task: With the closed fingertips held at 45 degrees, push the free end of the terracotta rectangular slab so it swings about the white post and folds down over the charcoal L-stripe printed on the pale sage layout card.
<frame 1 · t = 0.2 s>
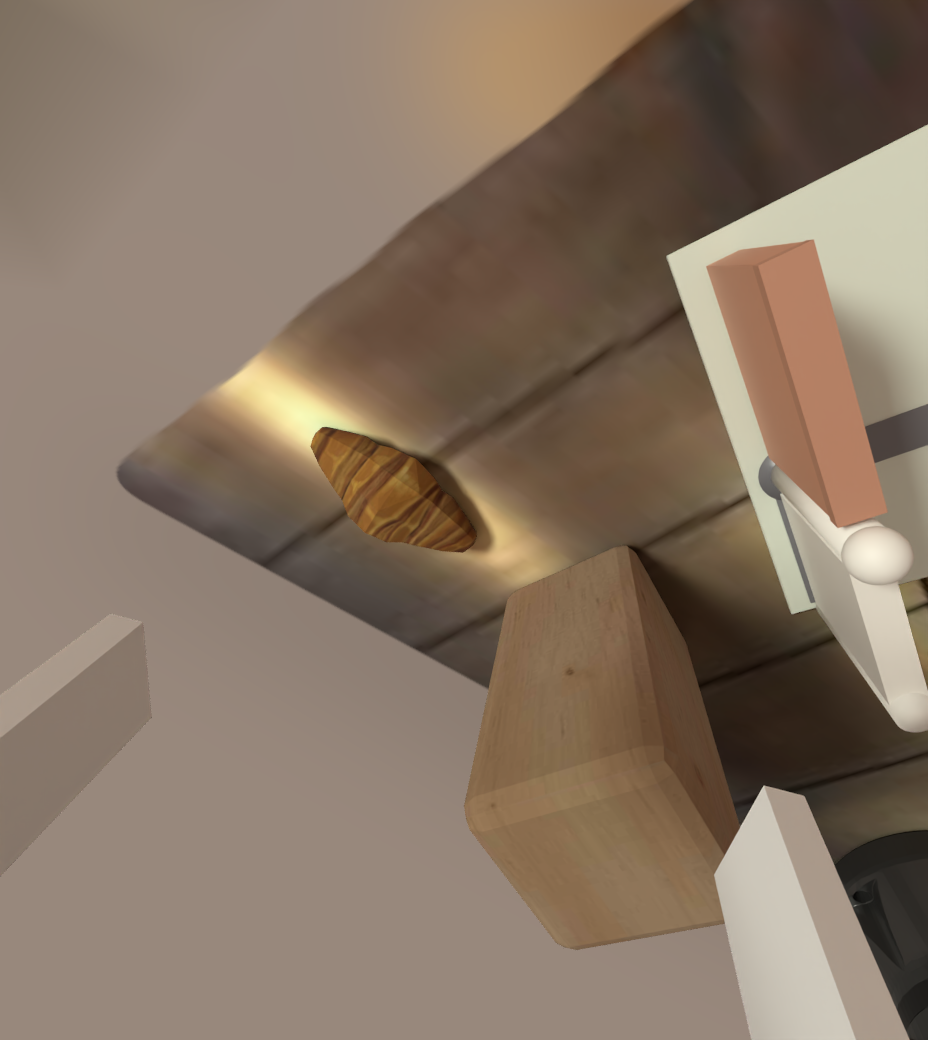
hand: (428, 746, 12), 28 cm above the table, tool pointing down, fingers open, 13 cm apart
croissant: (400, 484, 42), on the table
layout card: (861, 403, 34), on the table
terracotta rectangular slab: (785, 375, 28), point 6 cm above the table, hinge at 0.0°
wooden block: (595, 615, 43), on the table
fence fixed: (790, 473, 35), resting on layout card
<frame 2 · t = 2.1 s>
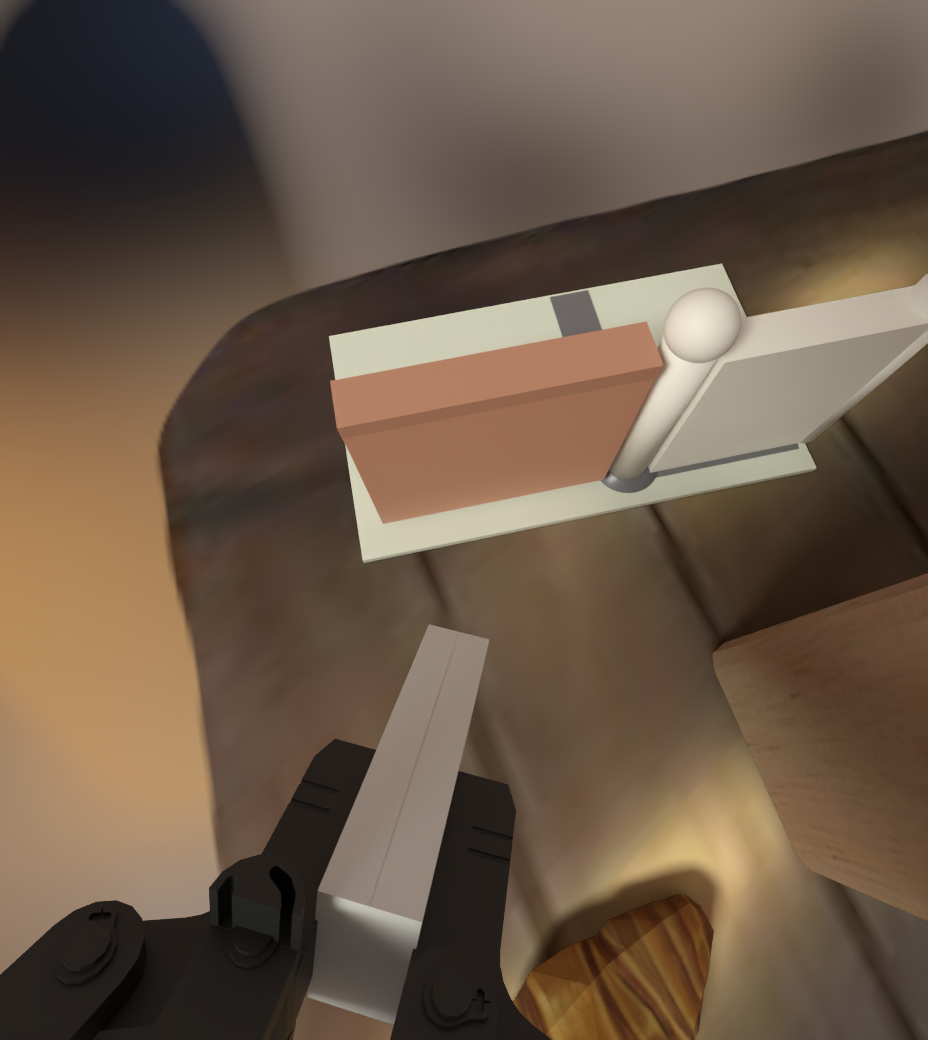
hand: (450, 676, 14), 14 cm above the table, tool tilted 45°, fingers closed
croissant: (581, 1022, 24), on the table
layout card: (558, 402, 33), on the table
terracotta rectangular slab: (493, 440, 26), point 6 cm above the table, hinge at 0.0°
wooden block: (837, 722, 27), on the table
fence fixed: (625, 462, 31), resting on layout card
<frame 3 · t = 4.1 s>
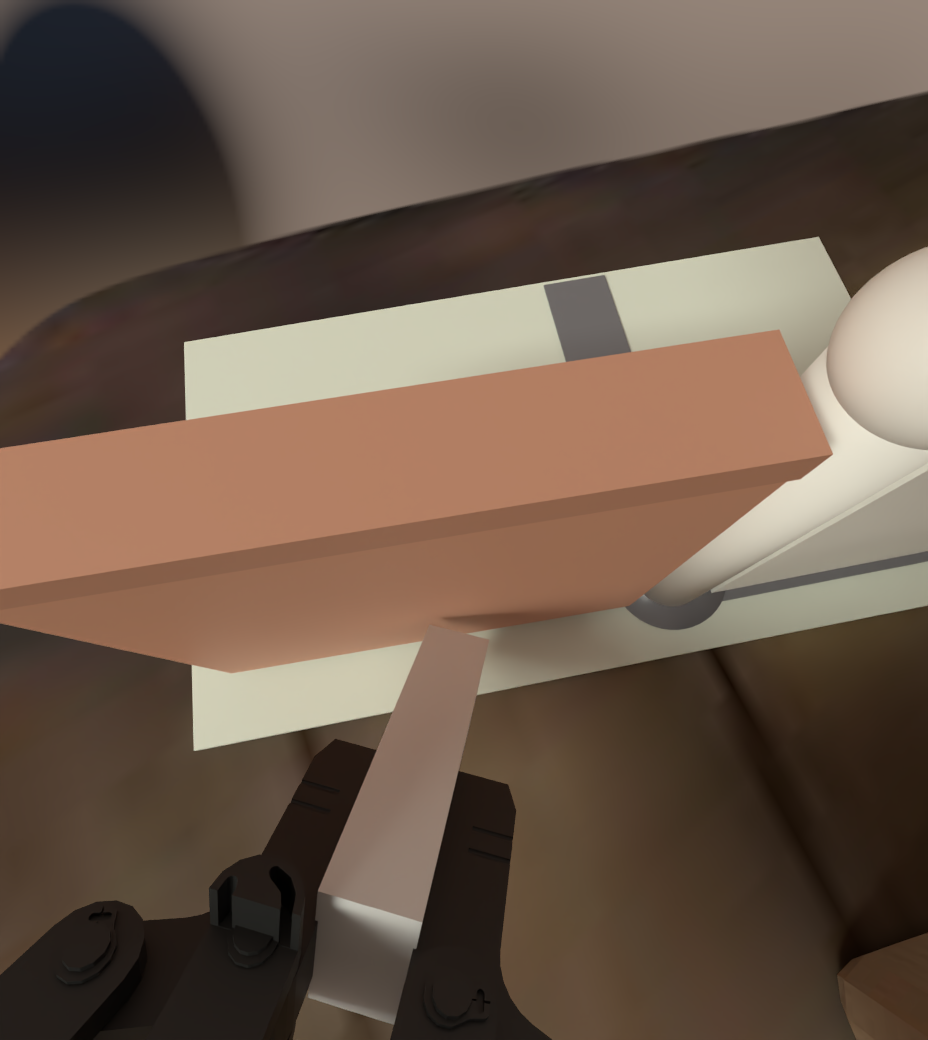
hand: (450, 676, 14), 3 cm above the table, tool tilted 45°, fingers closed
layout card: (552, 459, 20), on the table
terracotta rectangular slab: (410, 563, 12), point 6 cm above the table, hinge at 1.3°, touching gripper
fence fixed: (668, 572, 18), resting on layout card
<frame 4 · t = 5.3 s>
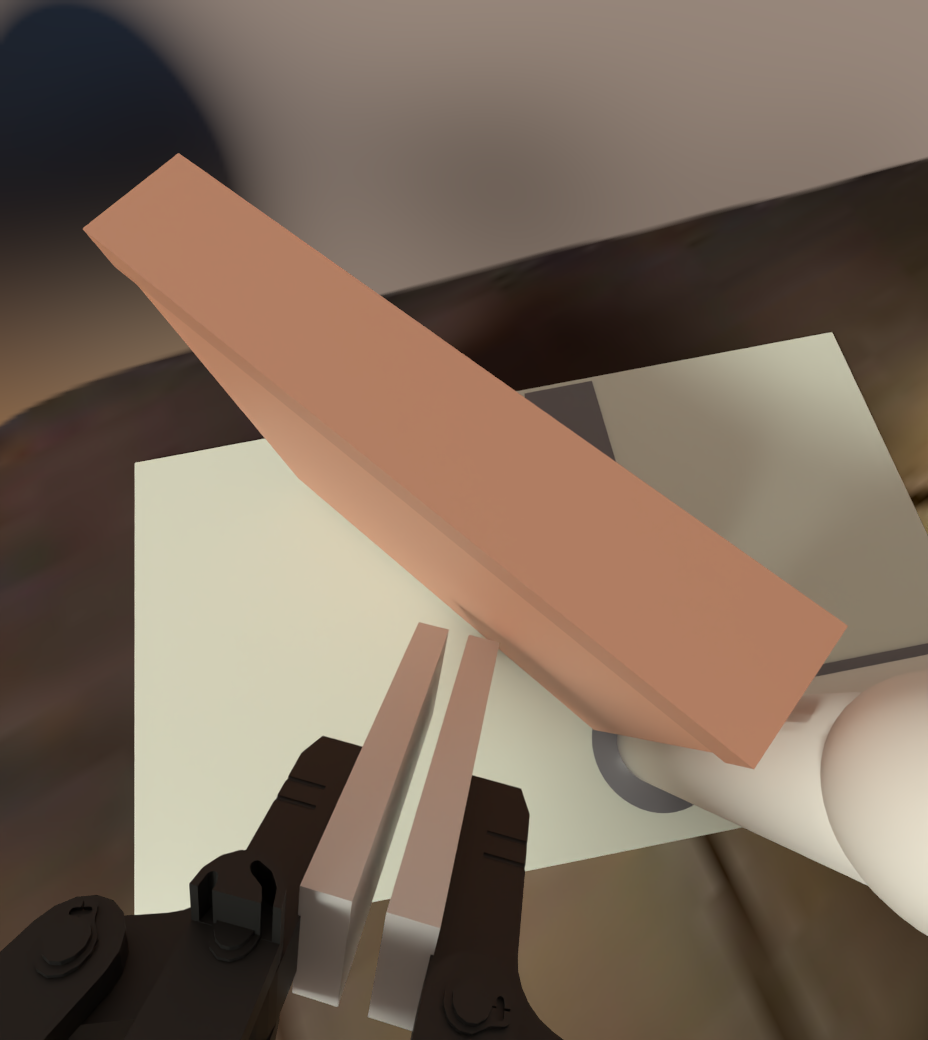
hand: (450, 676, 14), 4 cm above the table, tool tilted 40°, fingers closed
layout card: (531, 599, 18), on the table
terracotta rectangular slab: (438, 518, 13), point 6 cm above the table, hinge at 51.2°, touching gripper
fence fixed: (656, 742, 16), resting on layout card
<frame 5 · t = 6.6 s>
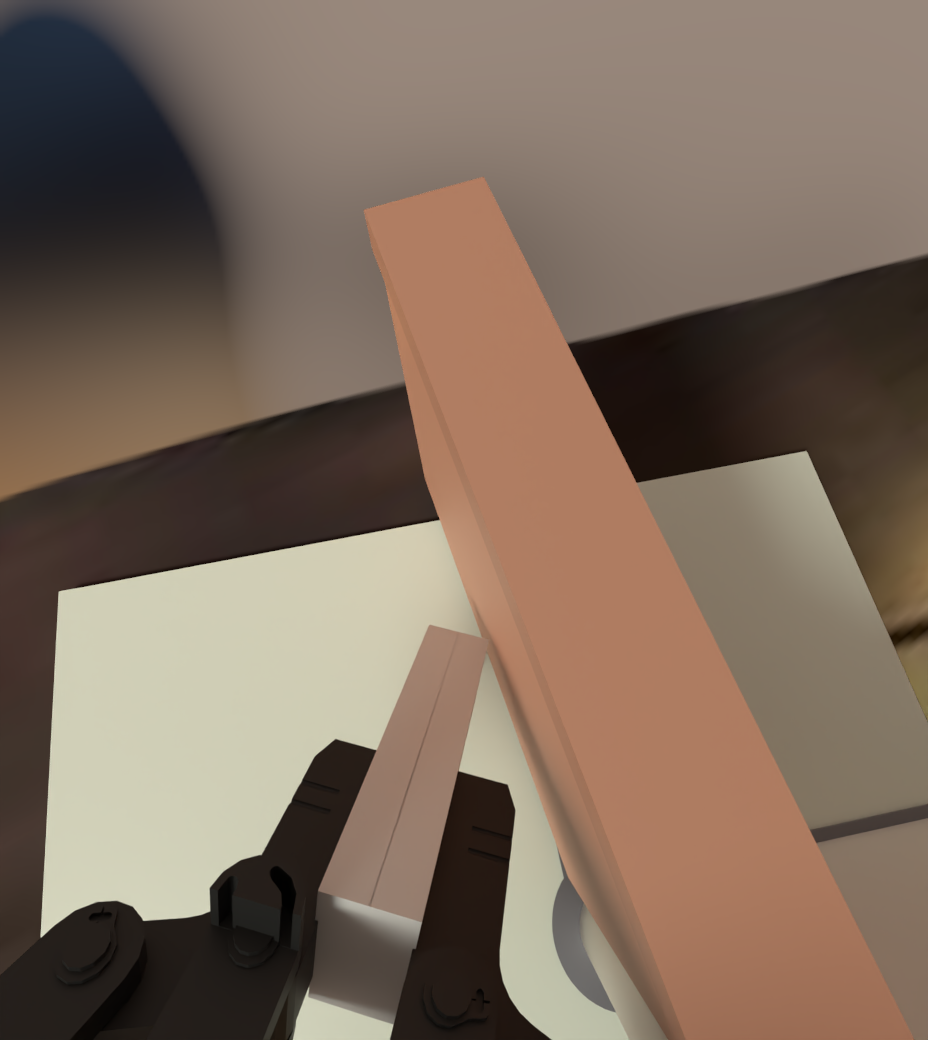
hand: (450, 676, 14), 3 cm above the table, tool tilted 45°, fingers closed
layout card: (489, 752, 17), on the table
terracotta rectangular slab: (533, 610, 12), point 6 cm above the table, hinge at 81.6°, touching gripper
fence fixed: (622, 927, 15), resting on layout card
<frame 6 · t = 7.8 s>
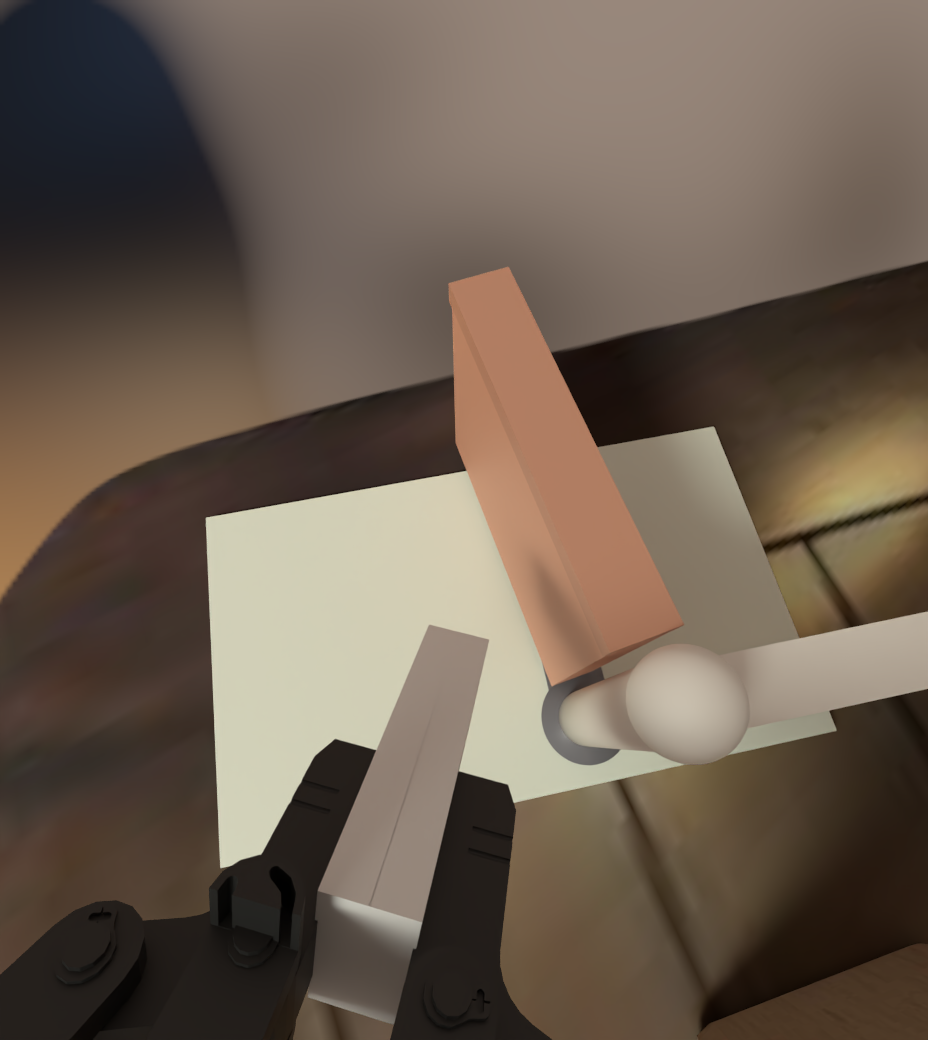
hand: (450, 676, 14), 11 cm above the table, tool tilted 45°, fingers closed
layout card: (500, 619, 25), on the table
terracotta rectangular slab: (531, 504, 21), point 6 cm above the table, hinge at 81.8°
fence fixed: (585, 717, 23), resting on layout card
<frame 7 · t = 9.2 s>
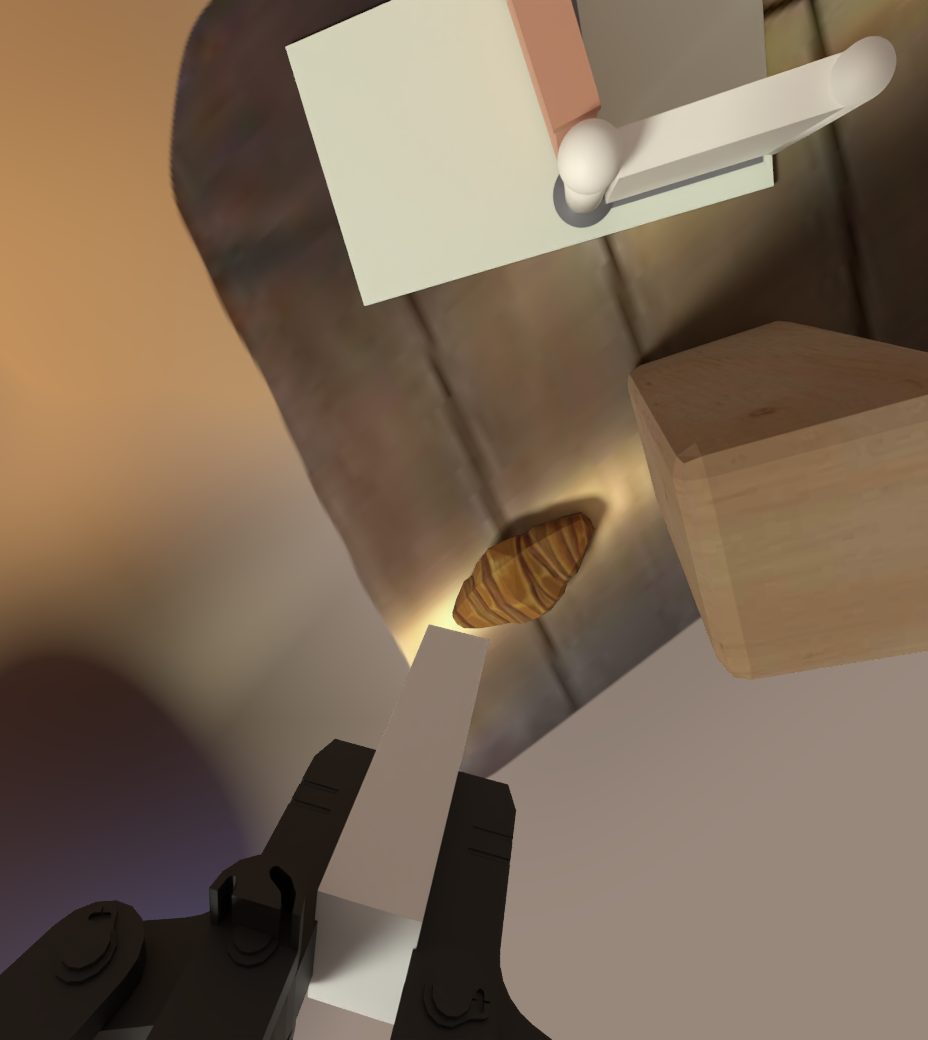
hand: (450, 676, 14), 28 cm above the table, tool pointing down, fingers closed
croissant: (522, 565, 44), on the table
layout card: (525, 116, 33), on the table
terracotta rectangular slab: (532, 2, 26), point 6 cm above the table, hinge at 81.8°
wooden block: (717, 416, 38), on the table
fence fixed: (584, 192, 33), resting on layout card
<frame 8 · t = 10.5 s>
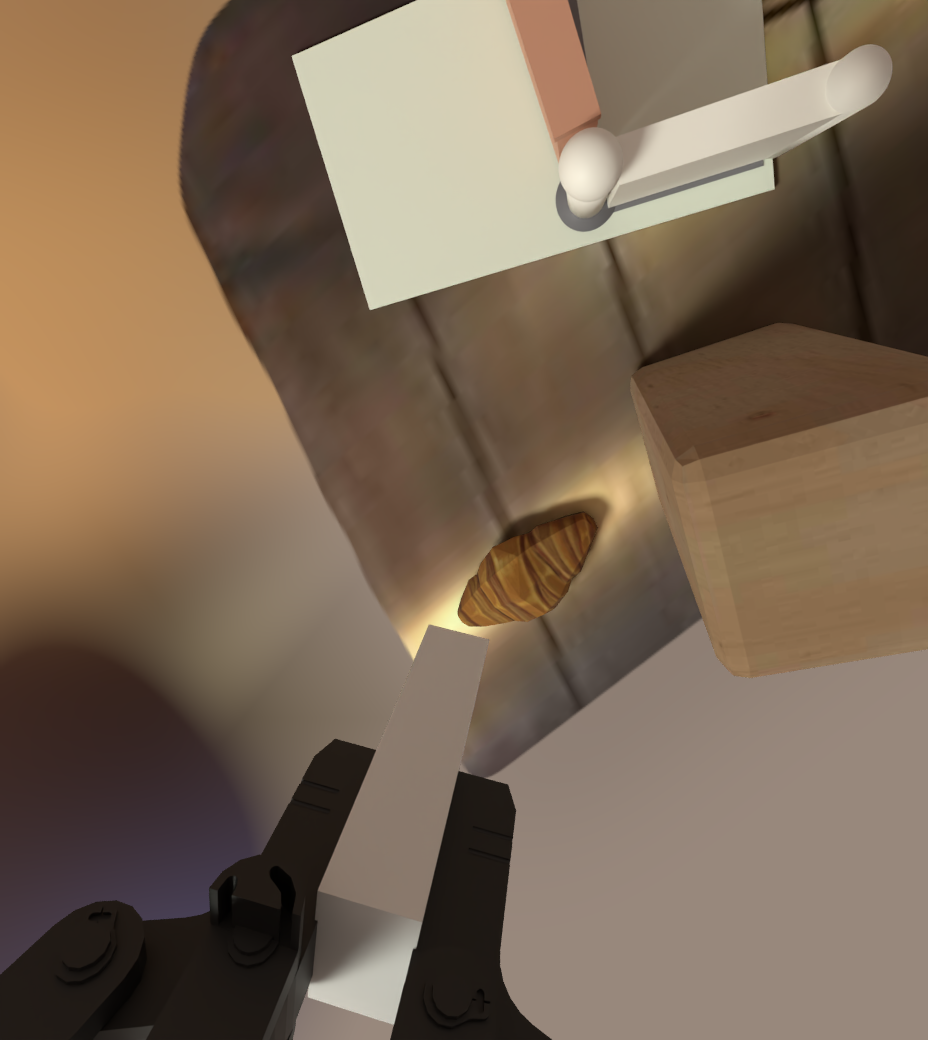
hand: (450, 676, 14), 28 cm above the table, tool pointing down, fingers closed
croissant: (526, 563, 45), on the table
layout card: (527, 122, 33), on the table
terracotta rectangular slab: (533, 11, 26), point 6 cm above the table, hinge at 81.8°
wooden block: (719, 417, 38), on the table
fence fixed: (586, 197, 34), resting on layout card
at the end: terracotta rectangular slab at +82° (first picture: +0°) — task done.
